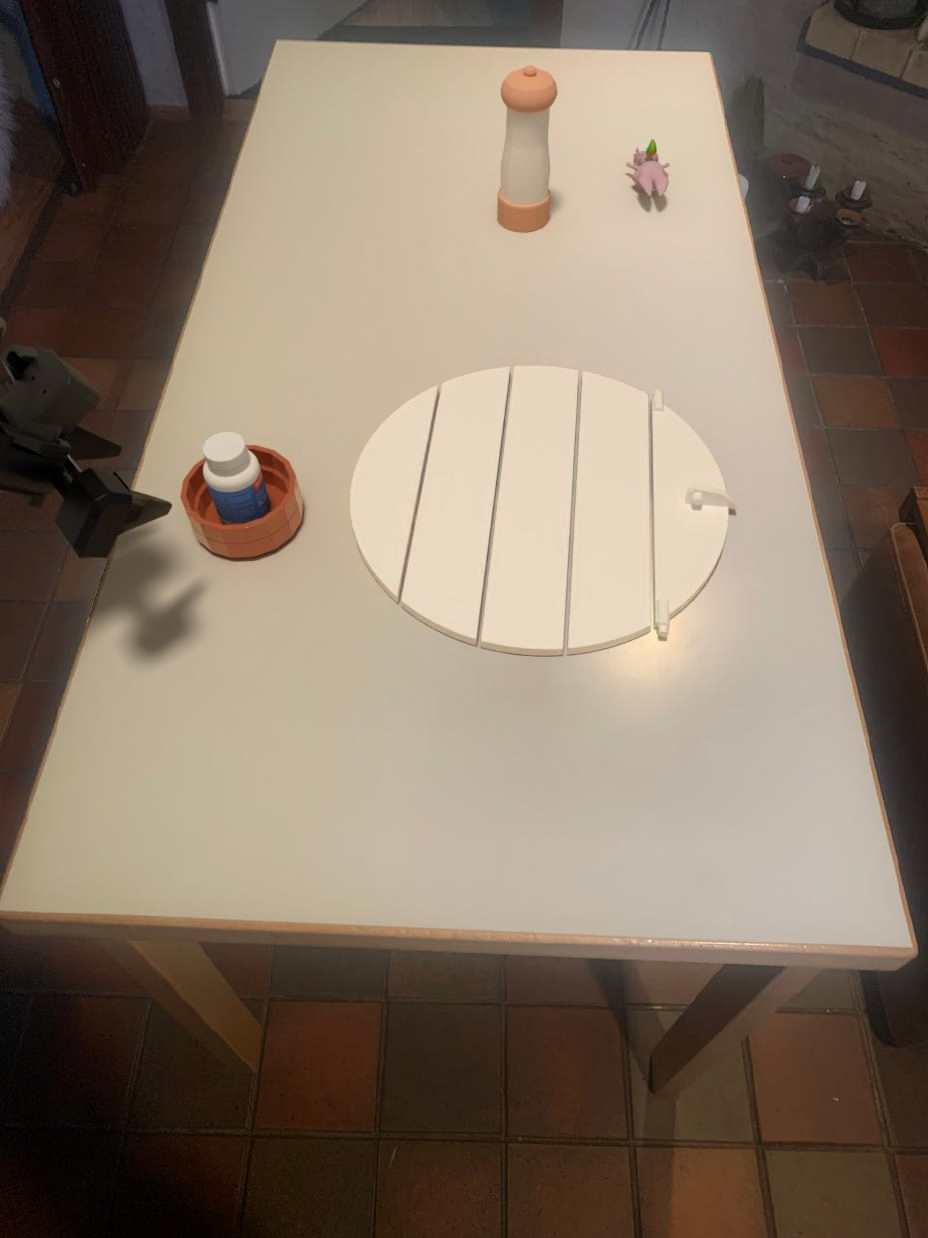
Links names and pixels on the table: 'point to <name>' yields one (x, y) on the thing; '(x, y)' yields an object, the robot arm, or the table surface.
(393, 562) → the round slatted board
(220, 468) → the pill bottle
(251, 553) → the bowl
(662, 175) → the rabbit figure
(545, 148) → the salt shaker
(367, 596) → the table surface
